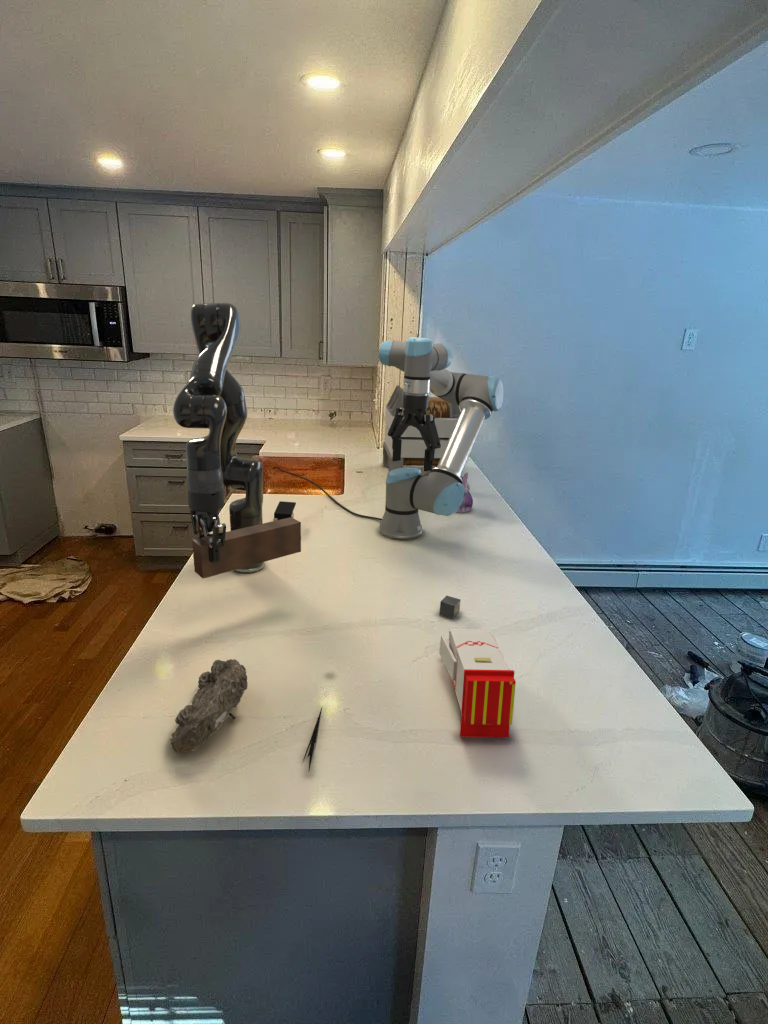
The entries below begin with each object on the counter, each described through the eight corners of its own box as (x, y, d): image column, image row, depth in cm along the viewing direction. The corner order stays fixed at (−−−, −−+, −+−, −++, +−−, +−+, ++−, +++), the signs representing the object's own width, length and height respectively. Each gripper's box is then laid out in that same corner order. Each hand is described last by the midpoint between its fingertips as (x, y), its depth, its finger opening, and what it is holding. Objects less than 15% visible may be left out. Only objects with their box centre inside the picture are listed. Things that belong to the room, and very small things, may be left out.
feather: (331, 679, 122) (336, 673, 122) (307, 777, 96) (313, 769, 95) (324, 675, 122) (329, 669, 121) (298, 772, 95) (304, 764, 95)
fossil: (195, 660, 117) (247, 628, 112) (227, 691, 120) (279, 661, 115) (146, 746, 98) (206, 711, 93) (185, 779, 101) (245, 748, 96)
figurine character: (291, 538, 195) (297, 518, 208) (291, 518, 192) (296, 500, 205) (272, 537, 195) (278, 518, 208) (271, 518, 191) (277, 499, 205)
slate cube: (439, 615, 148) (440, 601, 147) (445, 608, 151) (446, 595, 150) (453, 619, 146) (454, 605, 145) (459, 612, 149) (460, 599, 148)
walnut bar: (202, 578, 127) (200, 546, 125) (194, 571, 130) (191, 539, 128) (301, 551, 143) (300, 522, 141) (291, 545, 147) (291, 516, 144)
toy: (489, 613, 130) (525, 677, 101) (485, 667, 133) (518, 744, 104) (437, 612, 130) (457, 676, 101) (434, 666, 133) (453, 743, 103)
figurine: (459, 514, 221) (463, 477, 216) (445, 506, 229) (448, 470, 224) (479, 511, 225) (483, 475, 220) (464, 503, 234) (467, 468, 228)
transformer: (381, 463, 289) (385, 382, 275) (444, 464, 292) (450, 384, 279) (389, 482, 257) (393, 392, 243) (459, 483, 261) (467, 394, 247)
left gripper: (175, 481, 126) (181, 551, 132) (202, 498, 116) (207, 573, 122) (207, 476, 131) (211, 544, 137) (236, 492, 121) (239, 565, 127)
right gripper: (378, 389, 169) (375, 458, 176) (438, 401, 151) (432, 477, 158) (396, 387, 173) (393, 455, 181) (457, 399, 156) (450, 473, 163)
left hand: (210, 557), depth 129 cm, fingers closed on walnut bar, 4 cm apart
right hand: (411, 465), depth 170 cm, fingers open, 13 cm apart
